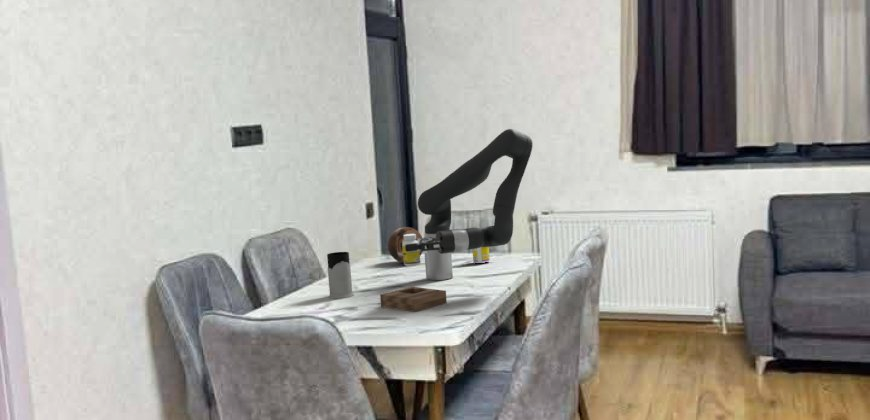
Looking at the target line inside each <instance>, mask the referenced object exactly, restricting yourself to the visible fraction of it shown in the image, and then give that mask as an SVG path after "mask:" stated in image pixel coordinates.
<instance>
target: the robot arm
mask: <svg viewBox="0 0 870 420" xmlns="http://www.w3.org/2000/svg"><path fill="white" fill-rule="evenodd" d="M532 151H533V139H532V138H531V137H530V136H529V135H528V134H525V133H523V132H520V131H518V130H516V129H513V128H508V129H504V130H503V131H501V133H499V134H498V135H497V136H496V137H495V138H494V139H493V140H492V141H491V142H490V143H489V144H487V145H486V147H484V148H483V149H482V150H480V151H479V152H478V153H477V154H475V155H474V156H473V157H471V158H470V159H469V160H466V161H465V162H464V163H463V164H461V165H460V166H459V167H458V168H456V169H455V170H454V171H452V173H450V174H449V175H448V176H446V177H445V178H444V179H442V180H441V181H440V182H438V183H437V184H435V185H433V186H431V187H430V188H428V189H426V190H425V191H423V192H422V193H421V194H420V195H419V197H418V200H417V207H418V210H419V211H420V212H421V213H422V214H423V215H427V216H430V219H429V221H428V222H427V223H426V224H425V225H424V236H425V237H422V238H419V239H415V240H416V241H418V243H414V244H406V245H405V250H406V251H407V252H408V251H416V250H417V249H418V251H423V252H425V253H424V263H425V264H424V265H425V279H428V280H431V281H443V280H450V279H452V278H453V277H454V275H453V259H452V257H453V256H452V253H457V252H459V253H460V252H464V251H468V250H469V251H470V250H473V249H477V248H480V247H489V248H491V247H498V246H505V245H507V244H508V243H510V241H511V240H512V237H513V233H514V212H515V208H516V203H517V202H516V201H517V197H518V193H519V189H520V185H521V182H522V181H523V178H524V177H523V176H524V174H525V172H526V169H527V165H528V163H529V160H530V157H531V155H532ZM502 157H508V158H509V159H512V163H511V169H510V171H509V173H508V175H507V176H506V177H505V178H504V179H503V181H502V182H501V183H500V184H499V187H498V188H497V190H496V193H495V197H494V202H493V207H492V214H493V216H494V222H493V225H488V226H482V227H469V228H454V229H453V228H452V229H450V228H451V224H452V199H454V198H456V197H458V196H461V195H464V194H466V193H468V192H471V191H472V190H474V189H476V188H477V187H479V186H480V185H481V184H483V183H484V182H485V181H486V180H487V179H488V177H489V176H490V172H491V170H492V167H493V165H494V163H495V162H496V161H498V160H499V159H501V158H502ZM402 243H403V242H401V243H400V249H402Z"/></svg>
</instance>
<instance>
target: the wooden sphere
mask: <svg viewBox="0 0 870 420" xmlns="http://www.w3.org/2000/svg"><path fill="white" fill-rule="evenodd" d="M406 234H416V239H419V238H423V235H421V233H420V232H419V231H418V230H416V229H415V228H413V227H409V226H403V227H399V228H397V229H396V230H394V231H393V232H392V233H391V235H390V236H389V238H388V243H387V249H388V252H389V254H390V256H391V257H392V258H393V259H394V260H395V261H397V262H398V263H400V264H401V263H402V264H404V259H403V249H400V243H401V242H404V241H405V240H404V235H406ZM419 252H420V257H421V256H422V254H423V252H424V251H419Z"/></svg>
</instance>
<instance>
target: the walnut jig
mask: <svg viewBox="0 0 870 420" xmlns="http://www.w3.org/2000/svg"><path fill="white" fill-rule="evenodd" d="M379 296H380V297H379V299H380V307H382V308H388V309H395V310H402V311H408V312H414V313H415V312H416V313H417V312H420V311H424V310H426V309H431V308H433V307H437V306H441V305H444V304H447V303H448V302H447V291H446V290H442V289H434V288H427V287H425V288H424V287H419V286H409V287H404V288H401V289H396V290H392V291H388V292H385V293H380V294H379Z"/></svg>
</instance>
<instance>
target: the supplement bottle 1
mask: <svg viewBox="0 0 870 420" xmlns="http://www.w3.org/2000/svg"><path fill="white" fill-rule="evenodd" d="M415 239H416V234H406V235H404V240H405V241H404V242H403V243H402V249H403V259H404V263H403V266H406V267H413V266H418V265H420V264H421V256H420V252H419V251H418V249H417V250H416V251H408V252H407V251H406V250H405V245H406V244H414V243H418V241H416V240H415Z"/></svg>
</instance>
